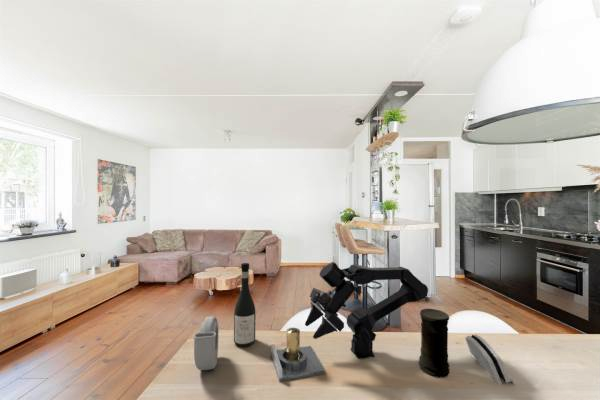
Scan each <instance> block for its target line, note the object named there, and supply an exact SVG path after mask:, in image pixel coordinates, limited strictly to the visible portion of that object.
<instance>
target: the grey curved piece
mask: <svg viewBox="0 0 600 400" xmlns="http://www.w3.org/2000/svg"><path fill="white" fill-rule="evenodd" d="M465 341H466V344H467V347H468V349H469V350H468V351H469V353H471V354H472V355H473V356H474V357H473V356H472V355H471V354H470V355H471V356H472V357H473V358H474V360H476V361H477V363H478V362H479V363H480V364H481V365H480V364H479V363H478V364H479V365H480V367H482V368H483V369H484V371H487V372H488V373H489V374H488V373H487V372H486V373H487V374H488V375H489V376H490V377H491V379H492V380H493V381H494V380H495V381H494V382H495V383H496V384H497V385H503V382H505V383H509V382H510V383H511V384H512V385H513V386H516V383H515V380H514V378H513V377H512V376H511V375H509V373H508V372H507V370H506V368H505V365H504V363H503V361H502V359H501V357H500V355H499V354H498V353H497V352H496V350H495V349H493V347H492V345H490V344H489V343H488V341H486V340H485V338H483V337H482V336H481V335H478V334H472V335H467V336H465Z"/></svg>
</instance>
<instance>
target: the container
mask: <svg viewBox="0 0 600 400" xmlns="http://www.w3.org/2000/svg"><path fill="white" fill-rule="evenodd" d="M419 315H420V319H421V322H420V326H421V328H420V329H421V330H420V331H421V334H420V337H421V338H420V339H421V340H420V341H421V342H420V354H419V355H420V356H419V358H418V359H419V361H418V366H419V368H420V370H421V371H422V372H423V373H424V374H427V375H429V376H430V377H431V376H432V377H434V378H443V379H444V378H446V377H449V374H450V363H449V362H448V361H449V353H448V352H449V351H448V349H449V348H448V343H449V342H448V341H449V339H448V337H449V336H448V335H449V328H448V324H449V321H450V316H449V315H448V313H446V312H445V311H442V310H438V309H436V308H435V309H433V308H423V309H420V311H419Z"/></svg>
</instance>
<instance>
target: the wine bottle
mask: <svg viewBox="0 0 600 400" xmlns="http://www.w3.org/2000/svg"><path fill="white" fill-rule="evenodd" d="M240 268H241V287H240V293H239V296H238V298H237V301H236V303H235V307H234V310H233V311H234V312H233V342H234V344H235V345H236V346H238V347H244V348H245V347H249V346H251V345H253V344H254V343H255V341H256V306H255V303H254V300H253V297H252V295H251V291H250V285H249V279H250V278H249V275H250V274H249V271H250V263H249V262H243V263H241V264H240Z"/></svg>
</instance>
